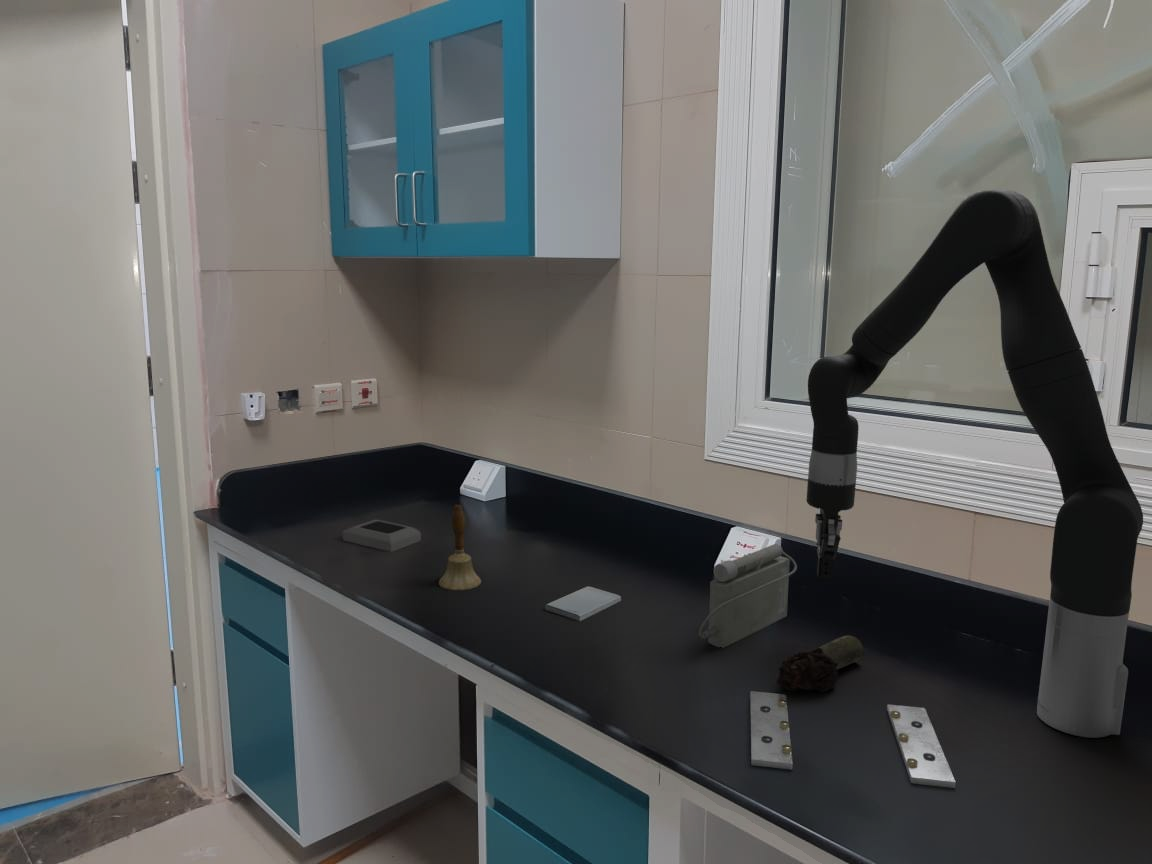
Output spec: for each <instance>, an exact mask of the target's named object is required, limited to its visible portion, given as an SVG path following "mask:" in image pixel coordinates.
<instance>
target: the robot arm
mask: <svg viewBox="0 0 1152 864" xmlns="http://www.w3.org/2000/svg"><path fill="white" fill-rule="evenodd" d="M983 264H985V265H984V266H985V267H986V269H987V271H988V273H989V276H990V278H991V280H992V283H993V285H994V287H995V291H996V294H997V299H998V302H999V309H1000V339H1001V350H1002V356H1003V362H1004V365H1005V369H1006V371H1007V374H1008V377H1009V380H1010V382H1011V385H1012V388H1013V392H1014V394H1015V398H1016V399H1017V401H1018V403H1019V404H1018V405H1019V406H1020V408H1021V409H1022V412H1023V413H1024V415H1025V418H1027V420H1028V422H1029V423H1030V425H1031V427H1032V429H1034V431H1035V433H1036V434H1037V435H1038V437H1039V438H1040V440H1041V441H1042V443H1043V444H1044V446H1045V447H1046V450H1047V451H1048V453H1049V456H1050V458H1051V460H1052V463H1053V465H1054V469H1055V471H1056V476H1057V478H1058V483H1059V486H1060V490H1061V494H1062V499H1063V503H1062V505H1061V507H1060V508H1059V510H1058V513H1057V515H1056V518H1055V523H1054V531H1053V532H1054V533H1053V539H1052V552H1051V561H1050V572H1049V579H1050V585H1051V586H1050V594H1049V595H1050V597H1049V604H1048V612H1047V619H1046V620H1047V621H1046V628H1045V629H1046V630H1045V636H1044V637H1045V638H1044V646H1043V653H1042V656H1043V657H1042V663H1041V672H1040V679H1039V688H1038V689H1039V690H1038V695H1037V706H1036V714H1037V717H1039V719H1040V720H1041V721H1043V722H1044V723H1045V724H1046V725H1048V726H1050V727H1051V728H1053V729H1055V730H1057V731H1060V732H1063V733H1065V734H1069V735H1072V736H1077V737H1081V738H1090V739H1091V738H1095V739H1097V738H1098V739H1099V738H1105V737H1108V736H1111V735H1114V736H1120V735H1121V727H1122V720H1123V714H1124V713H1123V712H1124V705H1125V699H1126V691H1127V683H1128V677H1129V669H1128V667H1127V666H1126V665H1125V664H1124V663H1123V660H1124V655H1125V654H1124V653H1125V646H1126V637H1127V630H1128V622H1129V615H1130V609H1131V603H1132V596H1133V595H1132V594H1133V593H1132V582H1133V575H1134V566H1135V561H1136V560H1135V559H1136V550H1137V547H1138V546H1137V545H1138V540H1139V539H1138V538H1139V536H1140V534H1141V531H1142V528H1143V525H1144V514H1143V509H1142V507H1141V504H1140V501H1139V499H1138V498H1137V496H1136V494H1135V492H1134V490H1133V488H1132V486H1131V484H1130V482H1129V481H1128V479H1127V476H1126V475H1125V474H1126V473H1124V469H1122V466H1121V465H1120V464H1121V463H1120V462H1119V460H1118V458H1117V456H1116V454H1115V451H1114V449H1113V447H1112V444H1111V442H1110V439H1109V435H1108V432H1107V428H1106V423H1105V420H1104V419H1105V418H1104V415H1103V411H1102V408H1101V405H1100V404H1101V403H1100V400H1099V398H1098V394H1097V391H1096V388H1095V384H1094V381H1093V378H1092V373H1091V371H1090V368H1089V365H1088V362H1087V360H1086V358H1085V354H1084V351H1083V349H1082V346H1081V343H1080V342H1079V339H1078V337H1077V334H1076V331H1075V330H1074V327H1073V324H1072V321H1071V319H1070V316H1069V313H1068V310H1067V308H1066V306H1065V304H1064V301H1063V299H1062V297H1061V294H1060V291H1059V290H1058V287H1057V285H1056V283H1055V280H1054V277H1053V274H1052V269H1051V267H1050V266H1051V265H1050V263H1049V259H1048V254H1047V250H1046V245H1045V241H1044V236H1043V232H1042V227H1041V223H1040V220H1039V215H1038V212H1037V210H1036V208H1035V206H1034V205H1033V203H1032V202H1031V201H1030V199H1029V198H1027V197H1026V196H1025V195H1024V194H1022V193H1020V192H1017V191H1013V190H1009V189H1007V190H1006V189H984V190H978V191H976V192H974V193H971V194H969V195H968V196H967V197H965V198H964V199H963V200H962V201H961V202H960V203H959V204H958V205H957V207H956V208H955V209H954V211H953V212H952V213H951V214H950V216H949V217H948V219H946V221H945V223H944V225H943V226H942V227H941V229H940V230H939V232H938V234H936V236H935V238H934V239H933V240H932V242H931V243H930V245H929V246H928V247H927V249H926V250H925V251H924V253H923V254H922V255H921V257H920V258H919V259H918V261H917V262H916V263H915V264H914V266H913V267H912V268H911V269H910V270H909V272H908V273H907V274H906V275H905V276H904V278H903V279H901V281H900V282H899V283H898V284H897V285H896V286H895V288H893V290H892V291H890V293H889V294H888V295H887V296H886V297H885V298H884V299H882V301H881V302H880V303H879V304H878V305H877V306H876V307H875V308H874V309H873V310H872V311H871V312H870V313H869V314H868V316H867V317H865V319H864V320H863V321H862V322H860V324H859V325H858V326H857V327H856V329H855V330H854V331H853V333H852V336H851V343H852V345H851V346H850V347H849V349H848V350H846V351H845V352H844V353H843V354H841V355H840V354H839V355H830V356H823V357H821V358H819V359H818V360H817V361H816V362H815V363H814V364H813V365H812V367H811V368H810V371H809V375H808V377H807V378H808V379H807V394H808V402H809V407H810V413H811V417H812V421H813V430H812V439H811V440H812V442H811V443H812V444H811V453H810V457H809V463H808V473H807V474H808V475H807V487H806V488H807V489H806V503H807V504H808V506H810V507H812V508H815V509H818V510H819V513H815V519H814V521H815V525H816V526H815V527H816V528H815V539H816V543H815V544H816V547H817V550H816V553H817V556H818V557H817V558H818V559H817V568H816V569H817V571H816V575H817V578H818V579H819V580H820V581H821V580H825V581H831V580H832V577H833V565H834V560H836V559H837V555H838V554H837V553H838V550H839V546H840V541H841V534H840V533H841V531H842V530H843V519H841V518H842V517H841V515H840V514H839V513H840V512H842V511H849V510H851V509H852V508H853V507H854V505H855V497H856V496H855V495H856V486H857V474H858V459H857V458H858V456H857V455H858V454H857V453H858V452H857V451H858V443H859V442H858V440H859V422H858V421H859V420H858V419H857V418H856V417H855V416H853V415H851V414H850V413H849V409H848V399H851V398H855V397H858V396H861V395H862V394H863V393H865V392H866V391H867V390H868V389H869V388H871V387H872V385H874V383H875V382H876V381H877V380H878V378H879V376H880V375H881V374H882V373H883V371H884V370H885V369H886V366H887V365H888V363H889V361H890V360H891V359H892V358H893V357H895V356H896V355H897V354H898V353H899V352H900V351H901V350H902V349H904V347H905V346H906V345H907V344H908V343H909V342H910V341H911V340H912V339H914V337H916V336H917V334H918V333H919V332H920V331H921V330H922V328H923V327H924V326H925V325H926V324H927V322H928V321H929V320H930V318H931V316H932V315H933V314H934V312H935V311H936V309H937V307H938V306H939V304H940V303H941V302H942V301H943V300H944V298H945V297H946V296H947V295H948V293H949V292H950V291H951V290H952V289H953V288H954V287H955V286H956V285H957V284H958V283H960V282H961V280H963V279H964V278H965V277H966V276H968V275H969V274H971V273H972V272H973V271H974V270H975V269H977V268H978V267H980V266H981V265H983Z"/></svg>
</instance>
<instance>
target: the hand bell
mask: <svg viewBox="0 0 1152 864" xmlns="http://www.w3.org/2000/svg"><path fill="white" fill-rule="evenodd" d="M451 527H452V532H453V533H454V550H455V551H454V553H453V554H451V555H449V556H448V559H447V567H446V571H445V573H444V575H443V576H442V577H441V578H440V579H439V581H438V585H439V586H440V587H441V588H442V589H445V590H447V591H448V590H449V591H466V590H472V589H475V588H477V587H479V586H480V585H481V583H482V579H481V578H480V576H478V575H477V573H476V572H475V571H474V566H473V562H472V557H471V555H469V554H467V553H465V549H464V548H465V546H464V533H465V529H466V516H465V513H464V510H463V507H462V504H455V505H454V508H453V511H452V517H451Z"/></svg>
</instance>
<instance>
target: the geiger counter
mask: <svg viewBox="0 0 1152 864" xmlns="http://www.w3.org/2000/svg"><path fill="white" fill-rule="evenodd" d="M782 555H783V556H782ZM784 556H785V557H784ZM790 562H792V564H793V565H794V567H793V569H792V571H790V564H791V563H790ZM797 569H798V565H797V563H796V561H795V559H794V558H792V557H791V556H790V555H788V554H787V553H786V552H784V549H783V547H782V546H781V545H780V544H778V543H774V544H772V545H769V546H766V547H763V548H761V549H759V550H756V551H753V552H752V553H751V552H750V553H747V554H746V555H743V556H741V557H739V558H736V559H733V560H730V559H728V560H724V561H722V562H720V563H717V564H715V566H714V567H713V575H714V578H715V579H713V580H712V581H710V582H709V583H710V584H709V585H710V586H709V612H708V613H709V614H708V615H707V617H706V618H705V619H704V621H703V622H702V624H701V625H700V626H699V631H698V637H700V638H702V639H704V640H705V639H707V638H708V644H710V645H712V646H714V647H717V648H720V647H722V648H721V649H724V647H725V648H726V646H727V647H729V646H730V644H731V645H732V644H734V643H737V642H738V641H740V640H742V639H744V638H746V637H748V636H751V635H752V634H754V633H756V632H759V631H760V630H762V629H764V628H766V627H768V626H770V625H773V624H774V623H776V622H778V621H780V620H783V619H784V618H786V617H787V615H788V602H789V601H788V597H789V595H788V594H789V579H790V576H792V575H793V574H795V572H797ZM707 623H708V629H705V631H703V629H704V628H705V626H706V625H707ZM702 631H703V632H702Z"/></svg>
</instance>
